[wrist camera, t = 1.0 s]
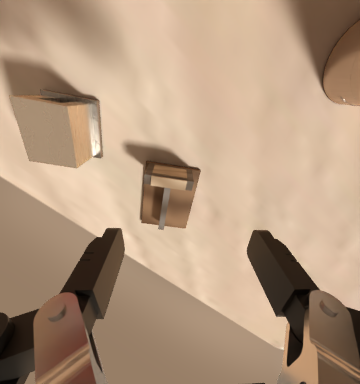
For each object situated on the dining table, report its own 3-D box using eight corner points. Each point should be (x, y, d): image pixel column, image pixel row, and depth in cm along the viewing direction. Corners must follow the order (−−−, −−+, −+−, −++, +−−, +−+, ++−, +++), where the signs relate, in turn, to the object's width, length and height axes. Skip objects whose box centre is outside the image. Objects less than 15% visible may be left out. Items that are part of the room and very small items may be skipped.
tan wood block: (46, 95, 21) (9, 95, 16) (91, 103, 22) (67, 106, 17) (57, 148, 25) (29, 160, 20) (95, 154, 25) (77, 168, 20)
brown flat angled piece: (44, 89, 22) (40, 89, 21) (99, 100, 22) (96, 100, 22) (56, 149, 26) (53, 150, 25) (102, 156, 26) (100, 158, 26)
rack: (146, 159, 27) (140, 172, 22) (200, 168, 27) (204, 183, 23) (142, 220, 33) (136, 240, 29) (185, 226, 34) (186, 246, 30)
